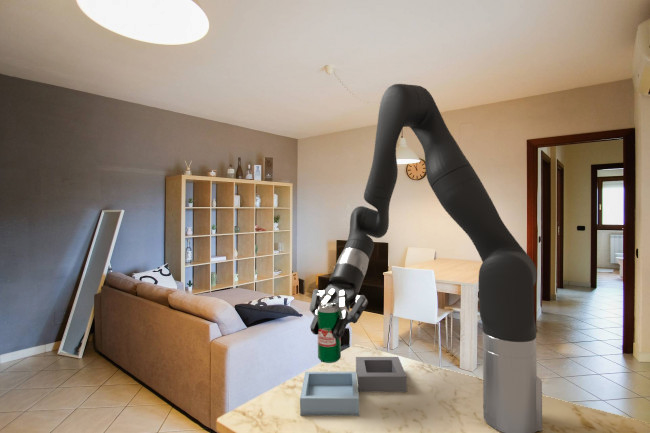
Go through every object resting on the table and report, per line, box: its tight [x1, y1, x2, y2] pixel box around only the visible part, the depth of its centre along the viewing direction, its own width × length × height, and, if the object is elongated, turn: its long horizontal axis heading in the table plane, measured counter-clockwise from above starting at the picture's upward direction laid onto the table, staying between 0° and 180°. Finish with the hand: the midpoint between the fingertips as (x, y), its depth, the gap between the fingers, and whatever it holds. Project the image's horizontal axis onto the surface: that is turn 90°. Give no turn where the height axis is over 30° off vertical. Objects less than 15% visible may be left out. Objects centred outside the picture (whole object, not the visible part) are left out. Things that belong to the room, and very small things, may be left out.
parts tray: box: [299, 371, 360, 417], centre depth 77 cm, size 12×12×4 cm
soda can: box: [317, 303, 342, 364], centre depth 77 cm, size 5×5×12 cm
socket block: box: [355, 356, 408, 393], centre depth 86 cm, size 11×11×4 cm
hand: (324, 334), depth 76 cm, fingers closed on soda can, 5 cm apart
